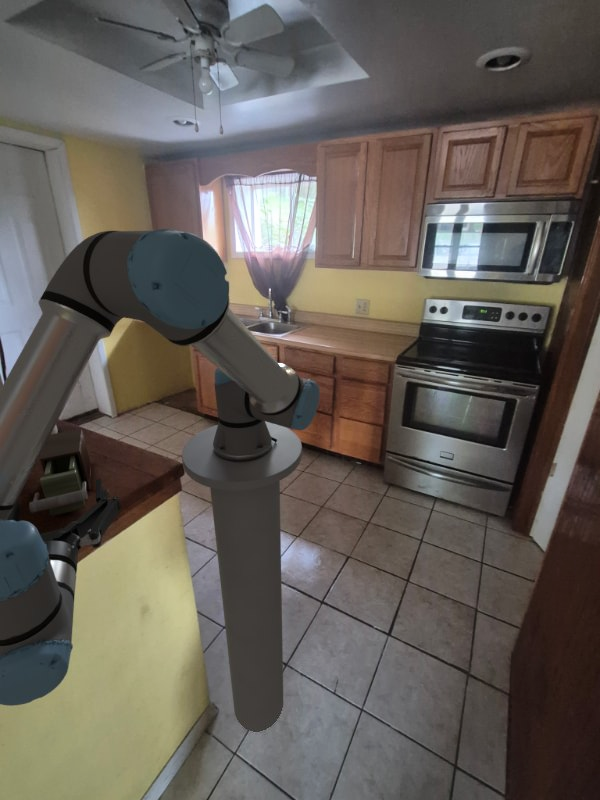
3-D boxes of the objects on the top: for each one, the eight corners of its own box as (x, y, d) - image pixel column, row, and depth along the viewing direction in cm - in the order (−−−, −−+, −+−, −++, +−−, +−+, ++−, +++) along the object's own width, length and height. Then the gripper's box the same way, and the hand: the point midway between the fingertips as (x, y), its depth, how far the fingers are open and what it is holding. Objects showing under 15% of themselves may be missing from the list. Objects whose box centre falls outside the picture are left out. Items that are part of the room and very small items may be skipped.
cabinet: (90, 490, 83) (79, 451, 78) (52, 499, 80) (39, 459, 76) (91, 465, 92) (81, 428, 88) (57, 472, 89) (46, 435, 85)
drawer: (93, 521, 72) (83, 485, 69) (38, 536, 69) (25, 498, 65) (94, 479, 85) (85, 446, 82) (48, 489, 81) (37, 456, 78)
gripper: (-58, 633, 49) (-16, 530, 66) (143, 567, 59) (134, 492, 77) (-80, 593, 46) (-31, 496, 63) (135, 530, 56) (127, 461, 74)
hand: (59, 494), depth 70 cm, fingers open, 13 cm apart
